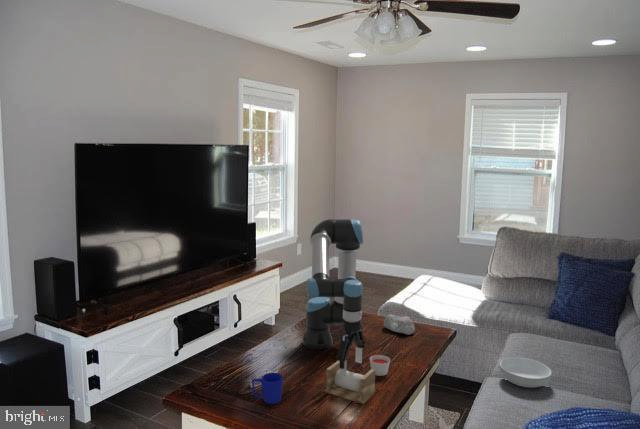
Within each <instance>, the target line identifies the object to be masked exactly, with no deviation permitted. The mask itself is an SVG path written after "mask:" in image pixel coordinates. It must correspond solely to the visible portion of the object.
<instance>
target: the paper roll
mask: <svg viewBox="0 0 640 429" xmlns="http://www.w3.org/2000/svg"><path fill="white" fill-rule="evenodd" d="M364 375H365V374H361V373H357V372H352V371H351V370H350V371H349V370H347V369H346V376H342V375H339V370H338V371H337V373H336V376H335V385H336V386H338V387H342V388H345V389H348V390H352V391H355V392H358V393H360V379H361V378H362V377H363V376H364Z"/></svg>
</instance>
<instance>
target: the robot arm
mask: <svg viewBox="0 0 640 429" xmlns="http://www.w3.org/2000/svg"><path fill="white" fill-rule="evenodd" d="M309 240H310V245H311V246H312V249H311V251H312V252H311V254H312V255H311V257H312V258H311V278H307V281H306V282H307V283H306V293H307V294H306V295H307V296H308V297H312V298H310V299H308V301H307V302H306V309H305V311H306V317H305V320H306V321H305V323H306V324H305V331H304V334H303V337H302V346H304V347H305V348H307V349H310V350H311V349H312V350H324V349H328V348H330V347H332V346H333V337H332V333H331V331H330V325H342V329H343V330H344V331H345V333H344V335H343V334H342V335H341V337H340V342H339V346H338V351H337V355H336V361H340V367H339V375H342V376H346V370H347V363H348V362H347V360H346V358H348V354H349V351H350V347H351V346H352V345H353V343H355V345H356V346H355V360H354V361H355V363H358V364H362V363H363V348H365V347H366V345H365V344H366V340H365V336H364V333H363V326H362V316H363V308H362V307H363V293H364V289H363V283H362V282H361V281H359V280H358V279H357V278H356V275H357V274H356V270H357V251H358V250H359V249H360V247H361V245H363V244H364V236H363V228H362V222H361V221H360V220H358V219H352V218H350V219H348V218H347V219H342V218H340V219H339V218H338V219H332V218H331V219H330V218H329V219H325V220H323V221H320V222H319V223H318V224H316V226H315V227H314V228H313V230H312V232H311V234H310V239H309ZM331 244H332V245H334V244H335V248H336V250H337V251H338V257H337V258H338V259H337V260H338V265H337V278H330V245H331ZM331 298H334V300H331Z"/></svg>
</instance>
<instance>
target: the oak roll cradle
mask: <svg viewBox="0 0 640 429" xmlns="http://www.w3.org/2000/svg"><path fill="white" fill-rule="evenodd" d="M339 367H340V361H338V360H336V362H334V363H332V364H331V365H330V366H328V367H327V368H326V378H325V379H326V380H325V381H326V387H325V388H326V391H325V392H326V393H327V394H330V395H333V396H336V397H340V398H342V399H343V398H344V399H346V400H349V401H353V402H356V403H360V404H362V405H364V404H365V403H366V402H367V401H368V400H369V399H370V398H371V397H373V395H375V385H376V384H375V383H376V375H375V370H373V369H371V368H370V370H369V371H367V372H366V373H365V374H363V375H364V376H363V377H362V378H361V379H360V393H358V392H355V391H352V390H348V389H345V388H342V387H338V386H336V385H335V376H336V373H337V371H338V370H339Z"/></svg>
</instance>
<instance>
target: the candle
mask: <svg viewBox="0 0 640 429" xmlns="http://www.w3.org/2000/svg"><path fill="white" fill-rule="evenodd" d="M369 362H370V370H371V369H373V370H375V376H378V377H383V376H386V375H387V374H388V372H389V367H390V362H391V358H390V357H388V356H385V355H382V354H375V355H372V356H370V357H369Z"/></svg>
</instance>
